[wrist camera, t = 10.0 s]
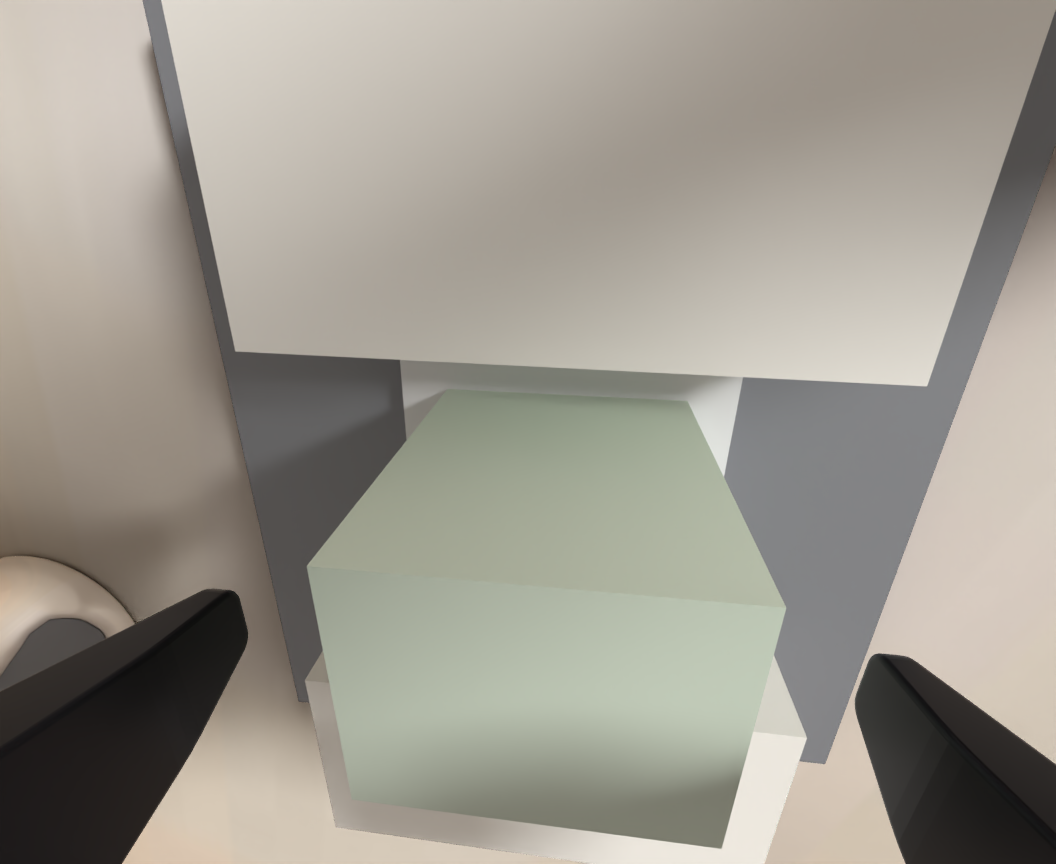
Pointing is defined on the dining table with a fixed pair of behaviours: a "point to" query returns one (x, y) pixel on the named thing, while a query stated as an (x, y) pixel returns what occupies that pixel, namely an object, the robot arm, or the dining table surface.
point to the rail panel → (614, 278)
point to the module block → (550, 619)
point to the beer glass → (50, 615)
